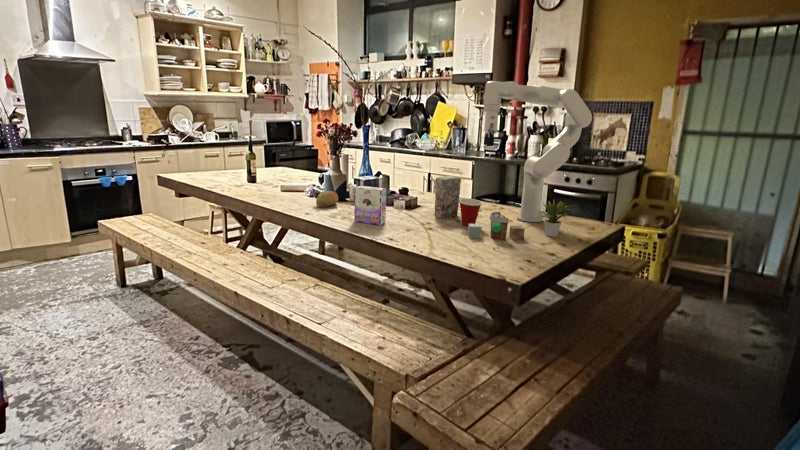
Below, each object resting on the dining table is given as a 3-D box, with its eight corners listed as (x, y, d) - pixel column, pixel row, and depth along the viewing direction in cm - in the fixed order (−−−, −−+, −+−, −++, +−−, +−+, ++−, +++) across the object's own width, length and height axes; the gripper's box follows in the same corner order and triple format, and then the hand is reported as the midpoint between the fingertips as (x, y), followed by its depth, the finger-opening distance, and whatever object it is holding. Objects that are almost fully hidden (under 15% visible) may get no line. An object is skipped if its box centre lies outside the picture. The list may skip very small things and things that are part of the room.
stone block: (443, 219, 224) (446, 178, 219) (432, 216, 228) (434, 177, 223) (459, 215, 233) (462, 176, 228) (448, 213, 238) (451, 175, 233)
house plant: (564, 242, 192) (569, 204, 188) (531, 236, 199) (535, 199, 195) (571, 235, 204) (576, 199, 200) (540, 230, 211) (544, 195, 207)
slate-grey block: (479, 235, 198) (480, 223, 197) (480, 238, 194) (481, 226, 192) (467, 234, 198) (468, 223, 197) (469, 238, 194) (470, 226, 192)
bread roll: (343, 204, 249) (343, 190, 247) (327, 209, 236) (327, 194, 234) (328, 202, 253) (328, 188, 251) (312, 207, 240) (312, 192, 238)
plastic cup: (465, 229, 206) (467, 203, 203) (452, 224, 216) (454, 199, 213) (485, 227, 211) (487, 202, 208) (471, 222, 220) (473, 197, 217)
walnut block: (520, 237, 198) (521, 225, 197) (523, 240, 193) (524, 228, 192) (509, 236, 198) (510, 225, 197) (511, 239, 193) (512, 228, 192)
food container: (484, 233, 202) (486, 211, 199) (498, 233, 202) (500, 211, 200) (492, 241, 190) (494, 217, 187) (506, 241, 190) (509, 218, 188)
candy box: (386, 223, 212) (387, 188, 208) (380, 225, 207) (381, 189, 203) (360, 219, 218) (360, 185, 214) (353, 221, 213) (354, 186, 209)
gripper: (503, 109, 208) (499, 147, 212) (496, 109, 225) (493, 144, 229) (486, 108, 208) (483, 146, 212) (481, 108, 225) (478, 143, 229)
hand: (488, 145), depth 220 cm, fingers open, 9 cm apart
